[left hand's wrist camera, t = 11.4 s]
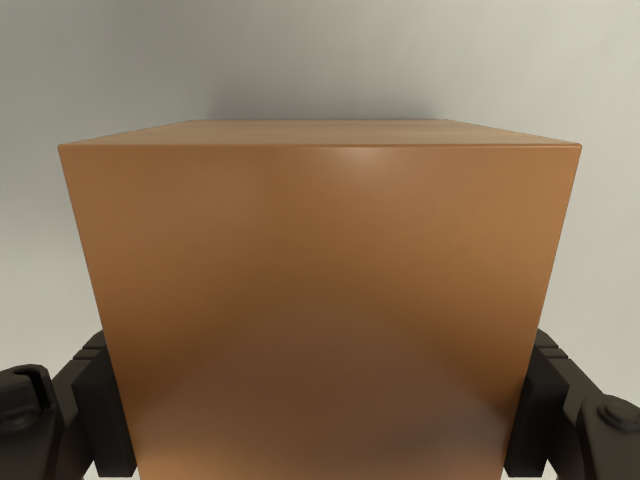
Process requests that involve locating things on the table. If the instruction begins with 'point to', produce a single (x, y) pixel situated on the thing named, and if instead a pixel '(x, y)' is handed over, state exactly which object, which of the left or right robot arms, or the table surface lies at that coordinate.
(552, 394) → the left robot arm
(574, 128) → the table surface
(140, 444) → the long beam
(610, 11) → the table surface
